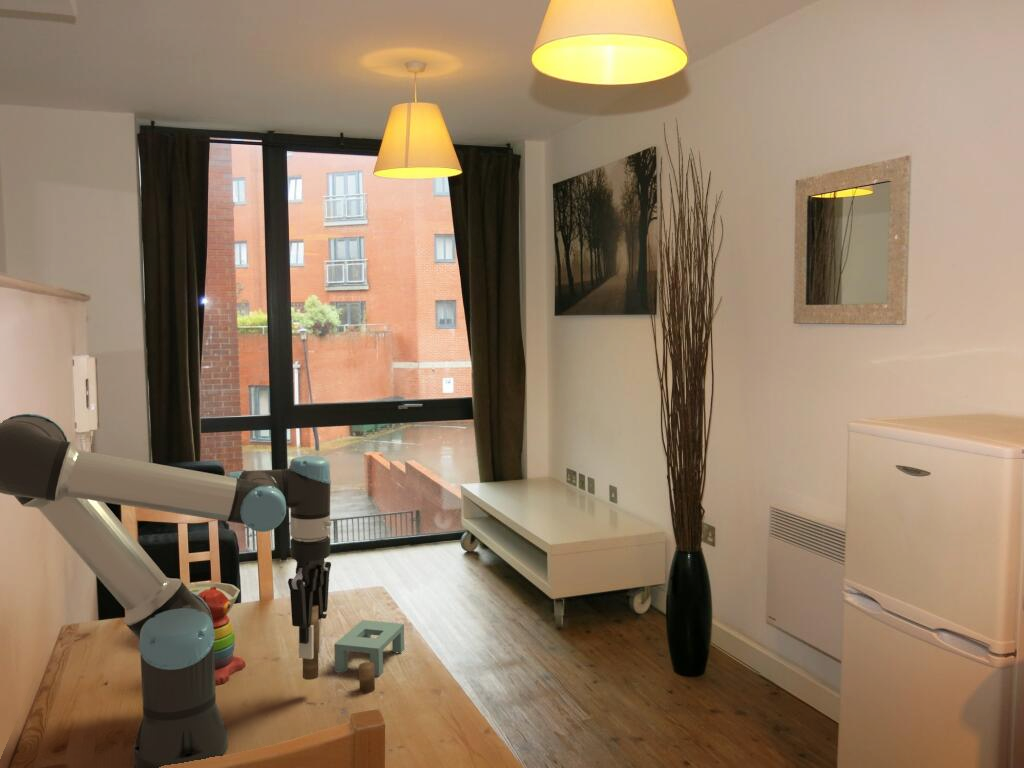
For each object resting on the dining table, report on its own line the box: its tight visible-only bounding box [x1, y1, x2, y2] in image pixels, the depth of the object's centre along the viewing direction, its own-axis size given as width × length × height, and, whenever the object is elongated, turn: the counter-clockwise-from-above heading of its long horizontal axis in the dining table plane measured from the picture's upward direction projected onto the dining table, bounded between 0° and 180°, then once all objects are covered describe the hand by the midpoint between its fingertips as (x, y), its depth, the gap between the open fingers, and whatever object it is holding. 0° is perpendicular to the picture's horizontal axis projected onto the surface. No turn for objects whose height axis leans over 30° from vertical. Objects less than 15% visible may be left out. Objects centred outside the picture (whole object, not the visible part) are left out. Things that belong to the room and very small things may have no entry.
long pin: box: [302, 604, 319, 681], centre depth 164 cm, size 3×3×14 cm
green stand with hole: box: [333, 619, 405, 677], centre depth 181 cm, size 14×10×6 cm
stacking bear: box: [198, 587, 246, 686], centre depth 175 cm, size 11×10×18 cm
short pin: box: [358, 661, 376, 694], centre depth 168 cm, size 3×3×5 cm
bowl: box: [184, 581, 241, 616], centre depth 198 cm, size 19×19×10 cm
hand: (310, 654), depth 164 cm, fingers closed on long pin, 2 cm apart
